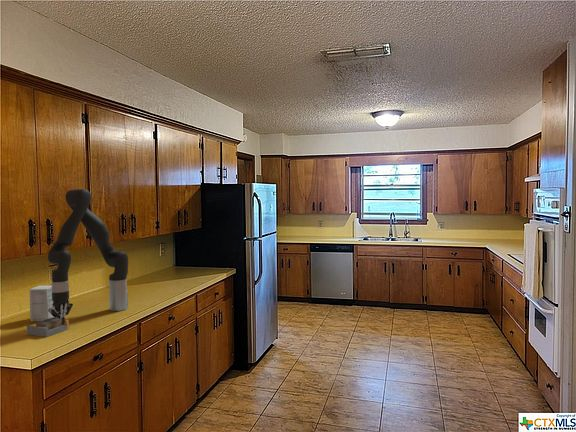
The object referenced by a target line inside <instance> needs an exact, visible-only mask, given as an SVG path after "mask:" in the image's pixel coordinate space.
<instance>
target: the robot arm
mask: <svg viewBox="0 0 576 432" xmlns="http://www.w3.org/2000/svg"><path fill="white" fill-rule="evenodd" d="M64 198H65V201H66V204H67V205H68V207H69V208H70V209H71V210H72V212H70V213H71V214H70V215H69V216H68V217H67V219H66V220H65V221H64V222H63V224H62V225H61V227H60V230H59V233H58V236H57V239H56V241H55V242H54V244H52V246H51V248H50V250H49V251H48V254H47V260H48V262H49V263H50V264H53V265H57V268H55V269H53V270H52V271H51V286H52V301H53V304H52V306H53V307H52V308H51V309H49V310H48V311H49V312H50V313H51V314H52V316H53V317H54V318H61V319H62V325H65V320H66V319H65V318H66V316H68V315H69V313H70V312H71V310H72V308H73V306H74V304H73V303H70V300H69V299H70V285H69V284H70V283H69V270H70V266H71V262H72V255H71V253H70V251H69V250H67V249H66V248H68V247H70V246H72V244H73V242H74V239H75V236H76V233H77V230H78V228H79V225H80V223H82V225H83V226H84V228H85V230H86V231H87V233H88V234H89V236H90V238H91V239H92V240H93V242H94V244H95V245H96V247H97V248H98V250H99V252H100V254H101V256H102V258H103V260H104V261H105V263H106V265H107V266H109V267H111V268H114V270H113V273H110V274H109V276H108V285H109V287H108V289H109V291H108V292H109V294H108V295H109V310H110V311H111V312H121V311H125V310H128V308H129V292H128V288H127V287H128V286H127V285H128V284H127V283H128V282H127V280H128V279H127V276H128V273H129V258H128V257H129V256H128V254H127V253H126V252H125V251H121V250H120V251H118V250H115V249H114V248H113V245H112V244H111V243H110V231H109V229H108V228H107V226H106V224H105V223H104V221H103V220H102V219H101V218H100V217H99V216H97V215H96V214H95V213H94V212H92V211H91V210H90V209H89V208H88V207H89V206H90V204H91V202H92V194H91V192H90V191H89V190H87V189H86V188H85V189H84V188H78V189H76V188H75V189H70V190H68V191H67V192H66V193H65V197H64Z"/></svg>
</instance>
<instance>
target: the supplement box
mask: <svg viewBox="0 0 576 432" xmlns="http://www.w3.org/2000/svg"><path fill="white" fill-rule="evenodd" d="M28 293H29V311H30V312H29V314H30V315H29V316H30V322H40V321H43V320H46V319H48V318H55V317H53V316H52V314H51V313H50V312H49V311H48V310H49V309H51V308H52V307H53V306H52V304H53V301H52V285H37V286H35V287H32V288H30V289H29V292H28Z"/></svg>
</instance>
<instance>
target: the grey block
mask: <svg viewBox="0 0 576 432" xmlns="http://www.w3.org/2000/svg"><path fill="white" fill-rule="evenodd" d="M35 326H38V327H46V328H48V330H51V329H54V328H56V327H59V326H62V319H61V318H55V317H54V318H49V319H46V320H43V321H35Z"/></svg>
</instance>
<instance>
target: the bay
mask: <svg viewBox="0 0 576 432" xmlns="http://www.w3.org/2000/svg"><path fill="white" fill-rule="evenodd" d="M48 319H49V318H48ZM69 330H70V319H65V323H64V325H62V326H59V327H56V328H54V329H51V330H48V328H46V327H38V326H36V325H30V324H29V325H26V335H28V336H29V335H30V336H35V337H36V336H37V337H41V338H48V337H51V336H53V335H57V334H59V333H62V332H65V331H69Z"/></svg>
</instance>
